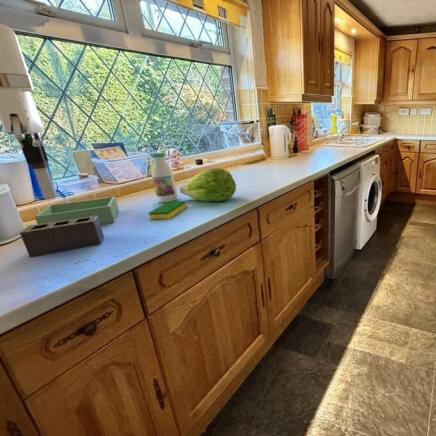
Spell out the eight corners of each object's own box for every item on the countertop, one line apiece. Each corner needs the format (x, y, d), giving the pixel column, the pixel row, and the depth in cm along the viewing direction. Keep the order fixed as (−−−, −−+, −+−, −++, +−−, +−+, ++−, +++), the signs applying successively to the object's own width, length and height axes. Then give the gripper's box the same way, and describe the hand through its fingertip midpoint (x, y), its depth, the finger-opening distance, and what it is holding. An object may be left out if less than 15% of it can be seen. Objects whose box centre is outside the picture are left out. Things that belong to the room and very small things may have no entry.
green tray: (41, 233, 96) (34, 216, 94) (54, 220, 108) (49, 205, 106) (114, 221, 104) (109, 206, 102) (119, 210, 116) (115, 196, 114)
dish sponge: (187, 206, 118) (185, 200, 117) (169, 218, 105) (168, 212, 104) (169, 207, 118) (167, 201, 117) (149, 219, 105) (147, 212, 104)
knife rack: (29, 257, 80) (19, 232, 77) (37, 248, 85) (28, 225, 82) (100, 244, 86) (93, 221, 84) (104, 236, 91) (97, 215, 89)
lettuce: (200, 195, 138) (187, 167, 131) (244, 191, 129) (232, 161, 123) (178, 211, 126) (162, 181, 119) (225, 208, 117) (210, 176, 111)
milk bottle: (162, 198, 132) (151, 151, 125) (180, 197, 132) (171, 151, 126) (154, 203, 124) (143, 154, 118) (174, 202, 125) (163, 153, 118)
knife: (43, 199, 79) (21, 140, 74) (45, 197, 81) (25, 140, 76) (55, 198, 80) (35, 140, 75) (58, 196, 82) (38, 139, 77)
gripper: (4, 86, 76) (30, 160, 82) (-30, 80, 63) (5, 168, 69) (42, 87, 79) (65, 157, 86) (18, 81, 66) (47, 165, 72)
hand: (38, 161), depth 77 cm, fingers closed on knife, 2 cm apart
